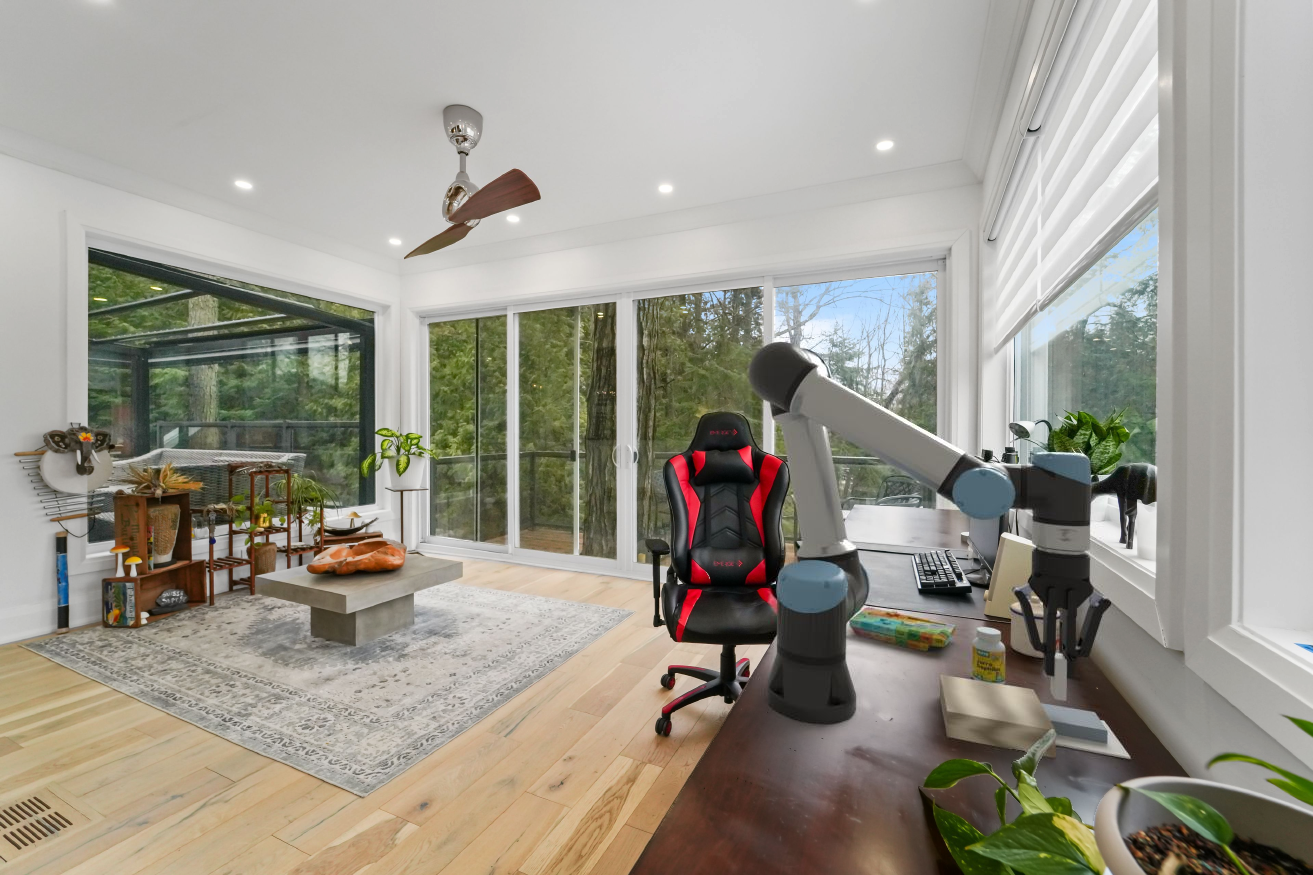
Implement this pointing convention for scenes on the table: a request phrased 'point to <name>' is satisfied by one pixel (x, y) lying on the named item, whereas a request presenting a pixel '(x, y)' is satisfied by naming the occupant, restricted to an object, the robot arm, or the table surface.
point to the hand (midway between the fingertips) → (1058, 696)
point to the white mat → (1095, 744)
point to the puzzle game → (901, 629)
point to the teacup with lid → (1019, 630)
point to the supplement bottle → (988, 656)
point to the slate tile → (1076, 723)
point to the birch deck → (993, 714)
